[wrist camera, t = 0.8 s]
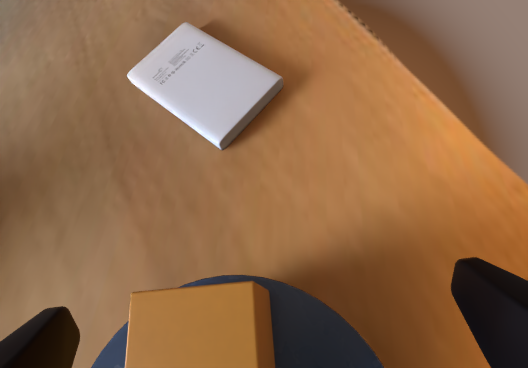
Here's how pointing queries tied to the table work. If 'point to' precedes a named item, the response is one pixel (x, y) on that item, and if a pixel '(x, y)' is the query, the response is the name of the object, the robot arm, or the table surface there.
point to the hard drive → (206, 83)
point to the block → (201, 327)
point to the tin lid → (284, 331)
